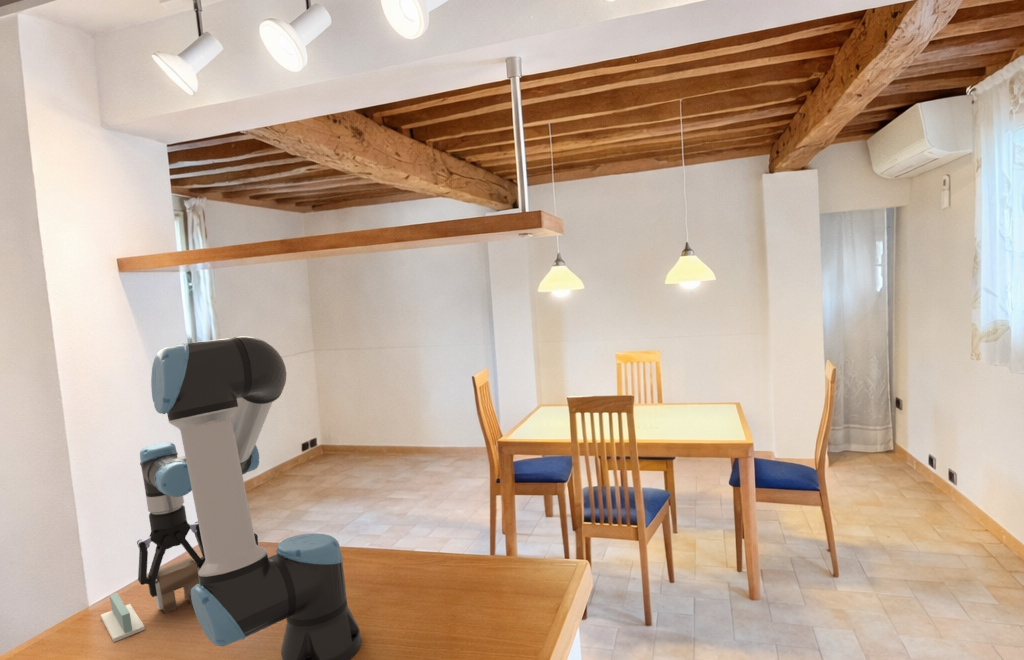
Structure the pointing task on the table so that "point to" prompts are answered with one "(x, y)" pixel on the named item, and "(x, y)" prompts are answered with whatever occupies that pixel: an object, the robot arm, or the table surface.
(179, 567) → the brown notched block
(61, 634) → the table surface
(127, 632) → the inverted t-shaped bar
